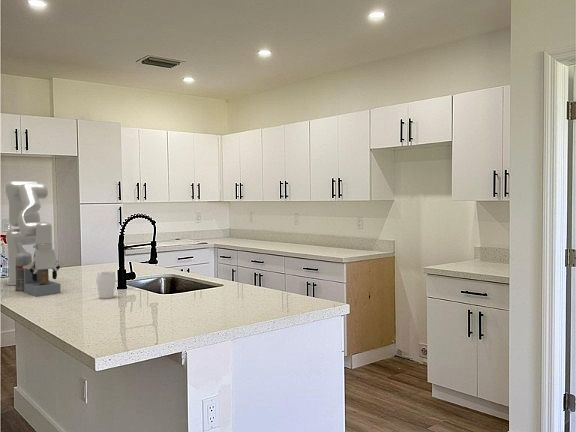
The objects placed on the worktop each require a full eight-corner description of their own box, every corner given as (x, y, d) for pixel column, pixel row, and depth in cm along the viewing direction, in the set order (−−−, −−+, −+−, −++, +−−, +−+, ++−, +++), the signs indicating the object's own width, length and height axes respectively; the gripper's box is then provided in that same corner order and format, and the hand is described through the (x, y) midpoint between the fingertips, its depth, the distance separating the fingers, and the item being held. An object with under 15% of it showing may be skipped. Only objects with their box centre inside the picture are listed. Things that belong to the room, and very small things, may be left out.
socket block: (23, 292, 268) (22, 266, 267) (48, 289, 277) (48, 263, 277) (35, 296, 257) (34, 268, 256) (61, 293, 266) (60, 266, 266)
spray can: (36, 288, 280) (35, 252, 279) (27, 291, 272) (26, 253, 271) (21, 288, 281) (20, 251, 280) (12, 291, 273) (11, 253, 272)
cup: (92, 298, 253) (92, 273, 253) (106, 294, 261) (106, 271, 261) (105, 299, 249) (105, 275, 249) (119, 296, 257) (119, 272, 257)
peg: (42, 294, 262) (42, 271, 262) (39, 293, 265) (39, 270, 264) (49, 293, 265) (49, 270, 264) (47, 292, 267) (46, 269, 267)
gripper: (29, 248, 255) (30, 283, 256) (64, 246, 268) (64, 278, 268) (23, 247, 260) (24, 281, 261) (58, 245, 273) (58, 277, 273)
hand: (44, 280), depth 265 cm, fingers open, 9 cm apart
